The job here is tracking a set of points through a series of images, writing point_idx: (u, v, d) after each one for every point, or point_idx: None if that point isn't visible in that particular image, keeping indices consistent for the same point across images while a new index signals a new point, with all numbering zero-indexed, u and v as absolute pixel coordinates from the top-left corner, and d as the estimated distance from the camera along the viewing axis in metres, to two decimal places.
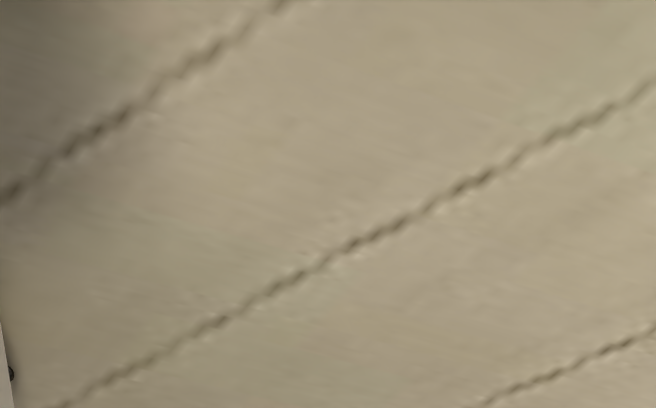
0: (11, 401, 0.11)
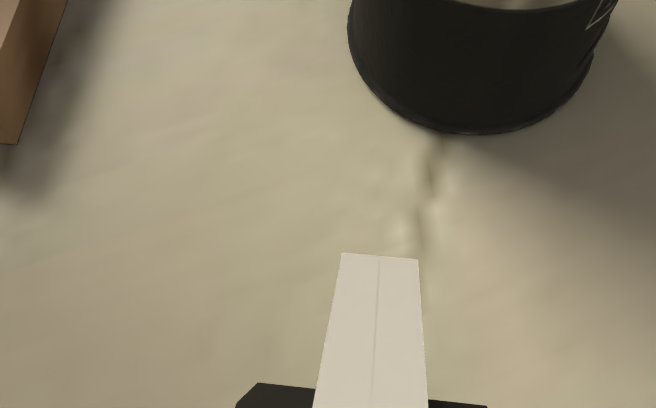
0: None
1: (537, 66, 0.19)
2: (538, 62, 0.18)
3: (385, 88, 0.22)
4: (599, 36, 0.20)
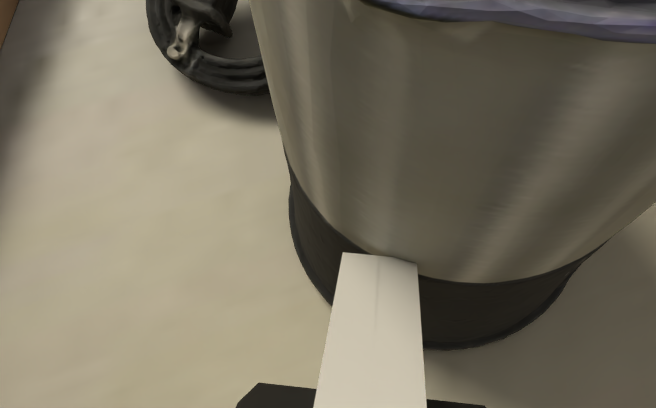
0: None
1: (504, 309, 0.15)
2: (506, 307, 0.15)
3: (328, 289, 0.18)
4: None
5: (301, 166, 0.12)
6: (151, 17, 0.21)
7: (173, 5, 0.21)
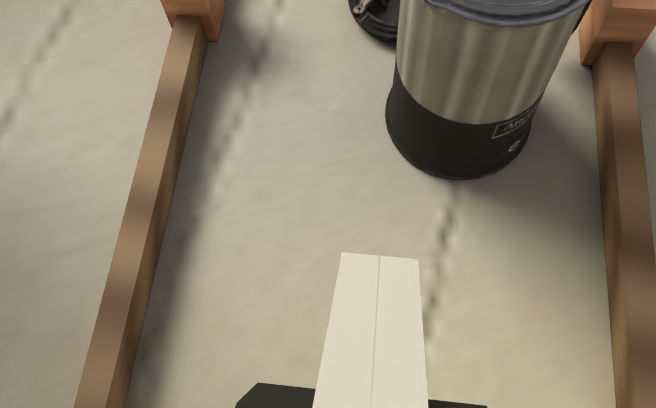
0: None
1: (464, 149, 0.35)
2: (465, 147, 0.35)
3: (394, 134, 0.39)
4: (510, 143, 0.36)
5: (400, 57, 0.32)
6: None
7: None
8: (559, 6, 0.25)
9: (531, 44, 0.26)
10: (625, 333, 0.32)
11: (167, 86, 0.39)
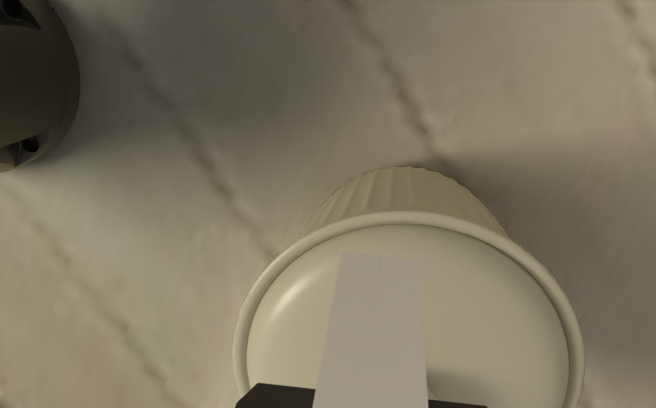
0: None
1: None
2: None
3: None
4: None
5: None
6: None
7: None
8: None
9: None
10: None
11: None
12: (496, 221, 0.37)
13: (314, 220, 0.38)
